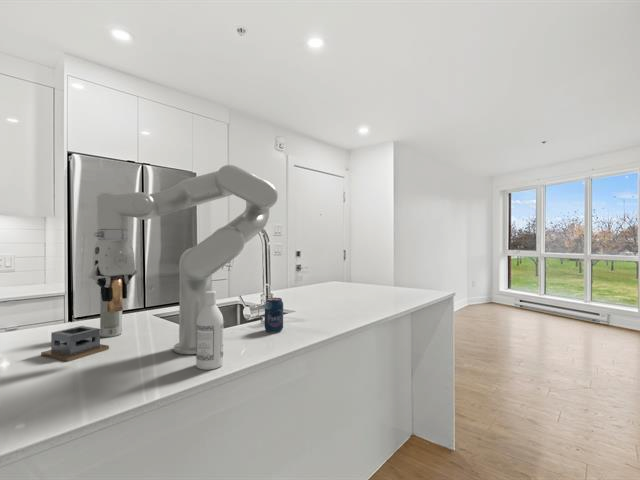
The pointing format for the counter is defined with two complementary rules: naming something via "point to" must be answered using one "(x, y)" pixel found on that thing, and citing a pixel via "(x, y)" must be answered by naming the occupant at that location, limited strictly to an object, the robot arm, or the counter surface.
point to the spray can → (109, 321)
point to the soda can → (273, 315)
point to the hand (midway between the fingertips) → (114, 299)
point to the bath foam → (209, 334)
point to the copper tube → (116, 294)
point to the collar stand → (74, 343)
